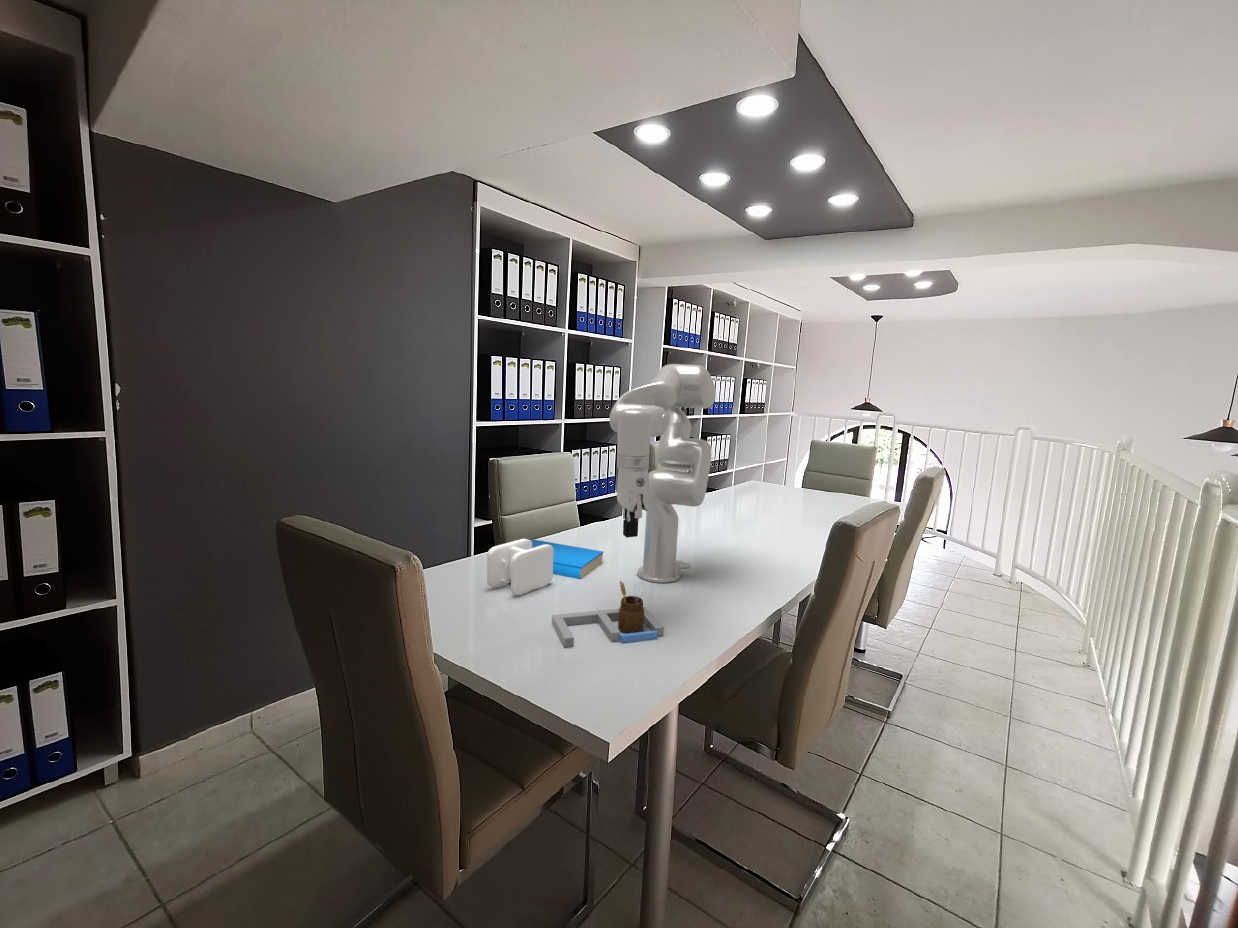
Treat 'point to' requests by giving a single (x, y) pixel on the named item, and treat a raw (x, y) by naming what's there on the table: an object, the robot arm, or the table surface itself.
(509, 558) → the cable organizer
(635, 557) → the table surface
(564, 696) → the table surface
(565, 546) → the book
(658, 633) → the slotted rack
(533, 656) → the table surface
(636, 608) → the utensil holder
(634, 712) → the table surface
